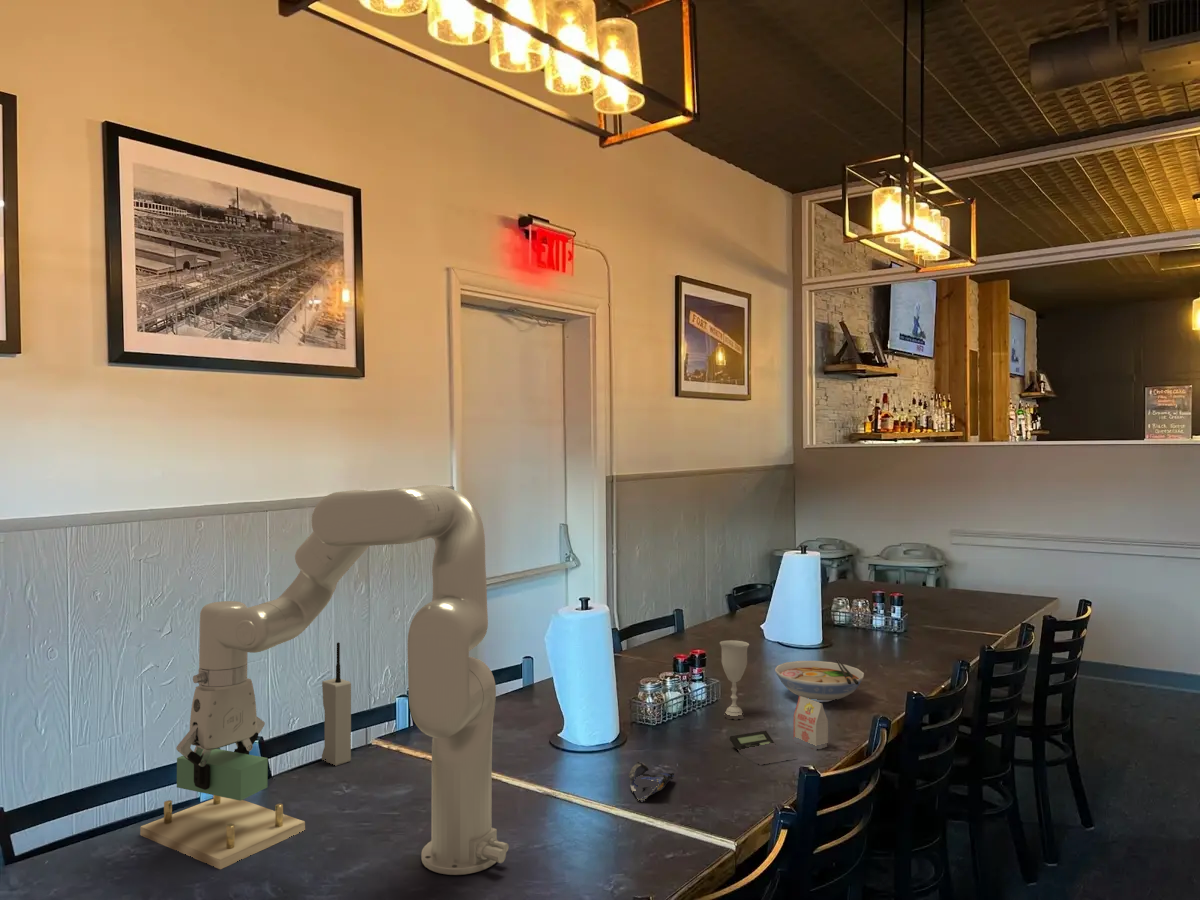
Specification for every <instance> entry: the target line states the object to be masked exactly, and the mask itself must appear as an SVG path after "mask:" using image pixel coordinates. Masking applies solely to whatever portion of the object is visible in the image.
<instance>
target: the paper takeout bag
mask: <svg viewBox="0 0 1200 900" xmlns="http://www.w3.org/2000/svg"><path fill="white" fill-rule="evenodd" d="M823 704H824V703H819V702H817V701H814V700H811V699H808V698H805V697H802V696H798V699H797V703H796V707H795V710H794V714H793V738H794V737H796V738H799V739H801V740H803V741H805V742H808V743H810V744H813V745H815V746H817V745H821V744H825V743H828V744H829V720H828V716H827V715H826V712H825V709H824V706H823Z"/></svg>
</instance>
